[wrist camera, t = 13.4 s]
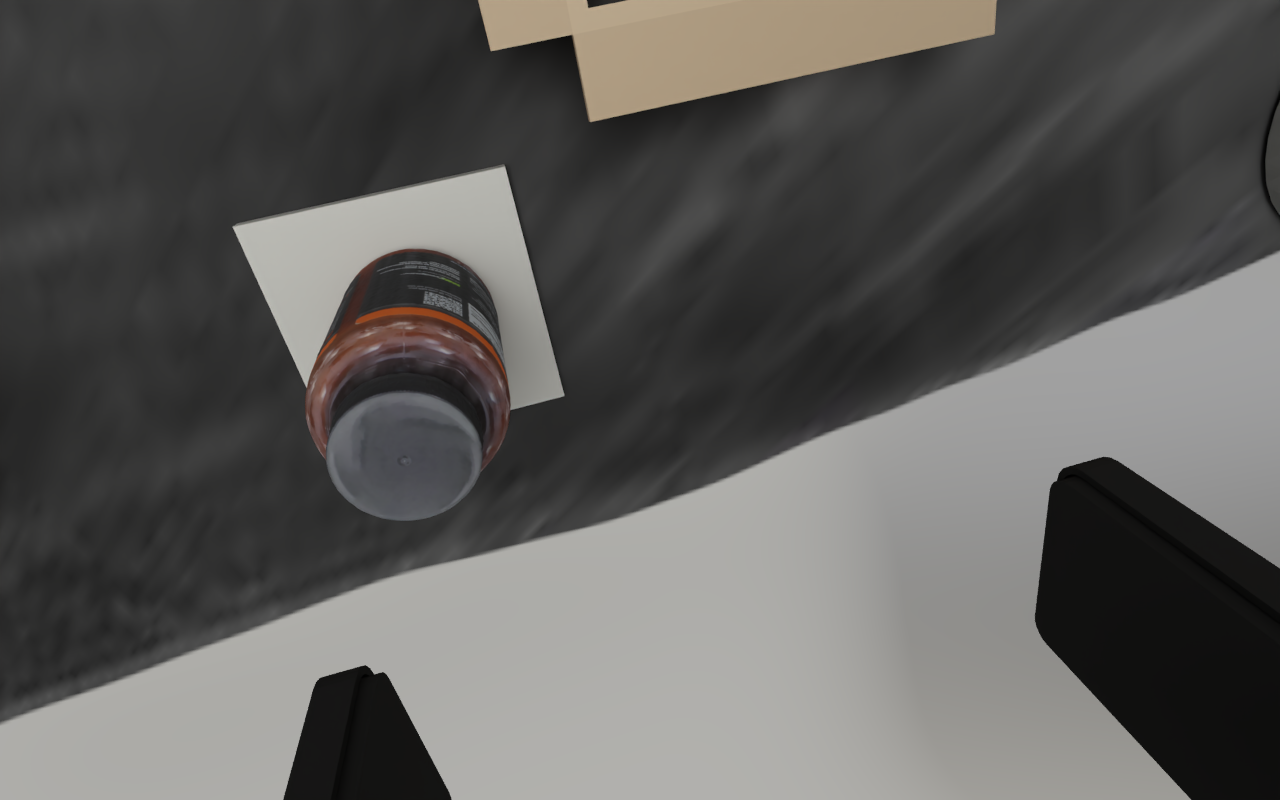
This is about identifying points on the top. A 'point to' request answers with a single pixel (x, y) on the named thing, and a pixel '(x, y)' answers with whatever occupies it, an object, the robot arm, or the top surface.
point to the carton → (724, 41)
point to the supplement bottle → (410, 386)
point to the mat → (395, 220)
